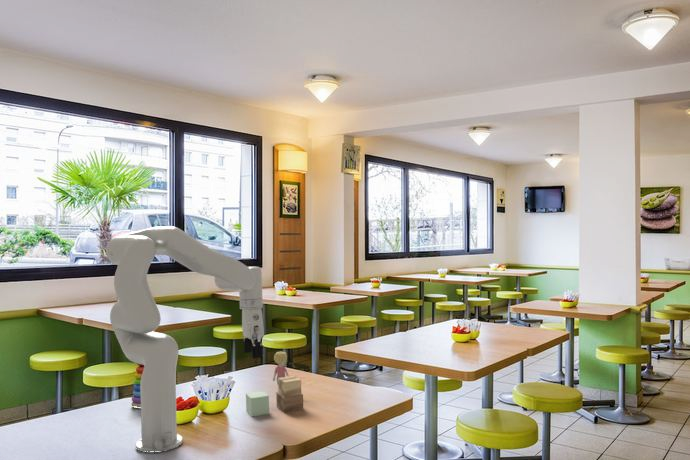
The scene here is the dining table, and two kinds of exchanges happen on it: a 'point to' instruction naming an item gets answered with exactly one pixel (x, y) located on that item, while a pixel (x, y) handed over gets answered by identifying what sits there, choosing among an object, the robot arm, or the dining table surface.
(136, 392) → the stacking toy
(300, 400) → the tower base
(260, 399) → the green cube
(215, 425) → the dining table surface
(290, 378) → the tower top
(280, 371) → the toy
